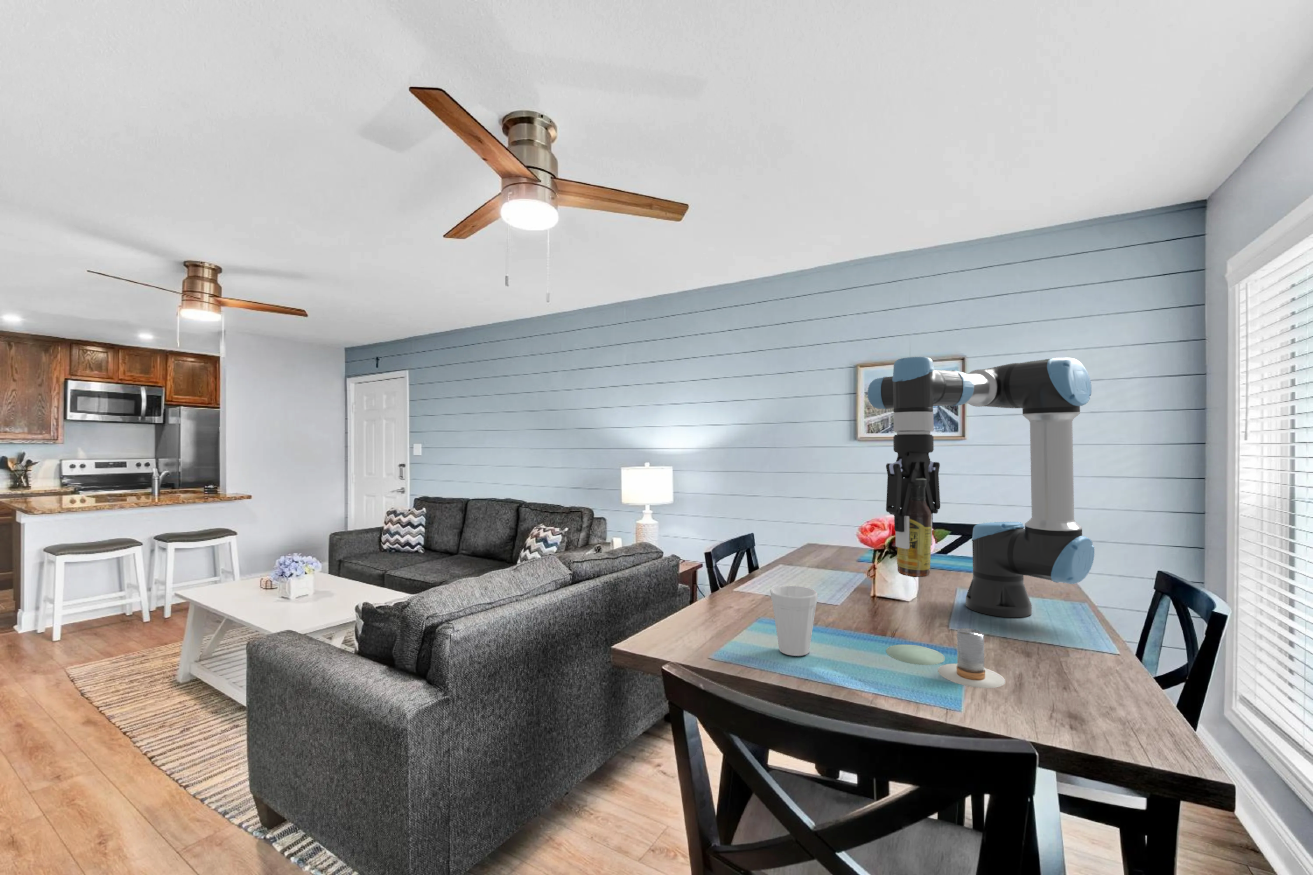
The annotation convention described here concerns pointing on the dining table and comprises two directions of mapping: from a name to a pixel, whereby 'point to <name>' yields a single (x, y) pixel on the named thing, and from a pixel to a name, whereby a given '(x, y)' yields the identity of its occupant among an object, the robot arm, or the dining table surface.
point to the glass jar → (970, 654)
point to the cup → (794, 618)
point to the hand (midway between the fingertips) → (913, 545)
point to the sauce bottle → (917, 534)
